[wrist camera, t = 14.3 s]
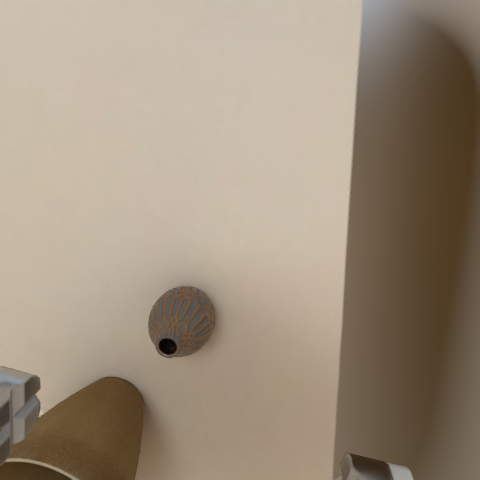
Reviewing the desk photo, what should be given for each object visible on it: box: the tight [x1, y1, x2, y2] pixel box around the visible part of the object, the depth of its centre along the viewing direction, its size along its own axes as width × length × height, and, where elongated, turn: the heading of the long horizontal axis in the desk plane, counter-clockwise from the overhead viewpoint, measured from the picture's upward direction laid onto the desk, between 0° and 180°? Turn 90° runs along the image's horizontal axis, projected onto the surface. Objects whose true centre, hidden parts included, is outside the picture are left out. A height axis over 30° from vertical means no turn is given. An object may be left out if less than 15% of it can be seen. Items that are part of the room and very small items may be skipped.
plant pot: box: [0, 377, 143, 480], centre depth 41 cm, size 15×15×16 cm
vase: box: [148, 286, 215, 358], centre depth 39 cm, size 7×7×9 cm
